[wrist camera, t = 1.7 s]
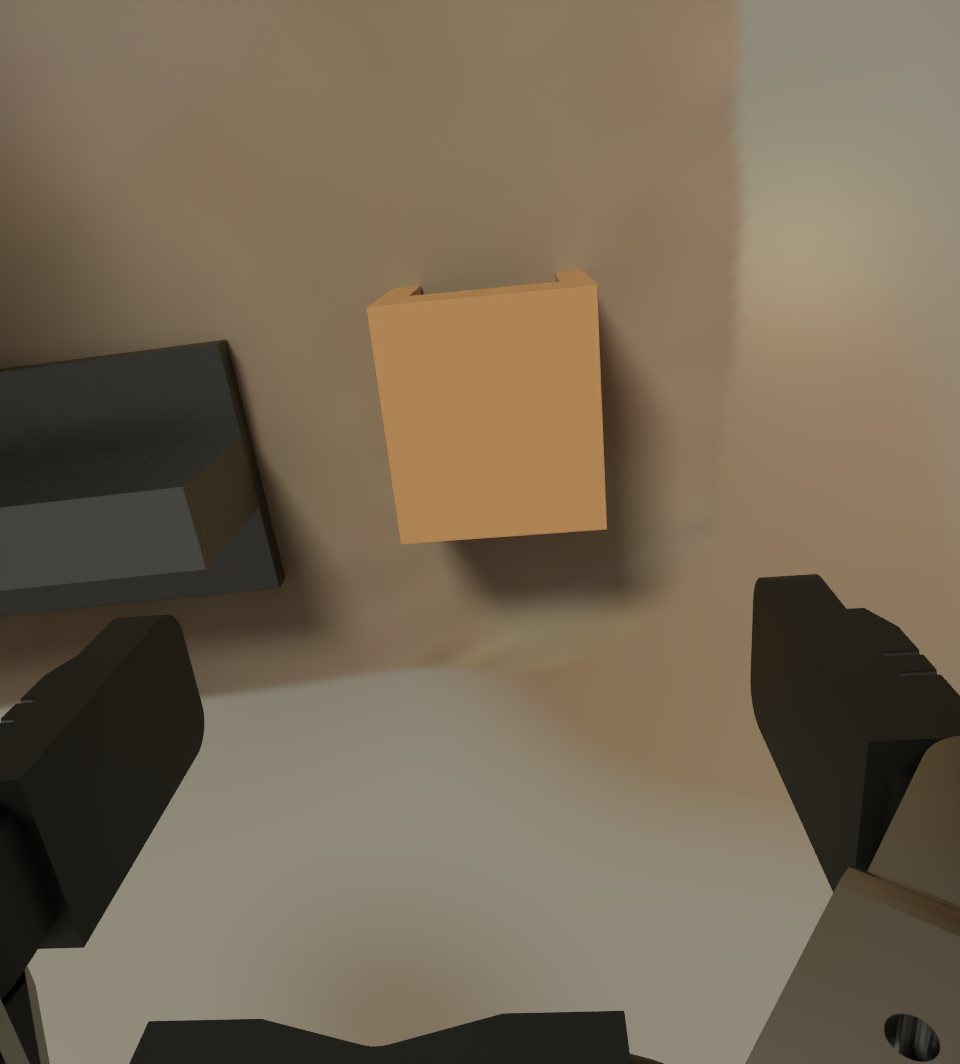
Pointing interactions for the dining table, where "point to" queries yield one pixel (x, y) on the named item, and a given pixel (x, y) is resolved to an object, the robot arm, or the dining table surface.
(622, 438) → the dining table surface
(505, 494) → the block
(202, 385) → the rail
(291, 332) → the dining table surface
